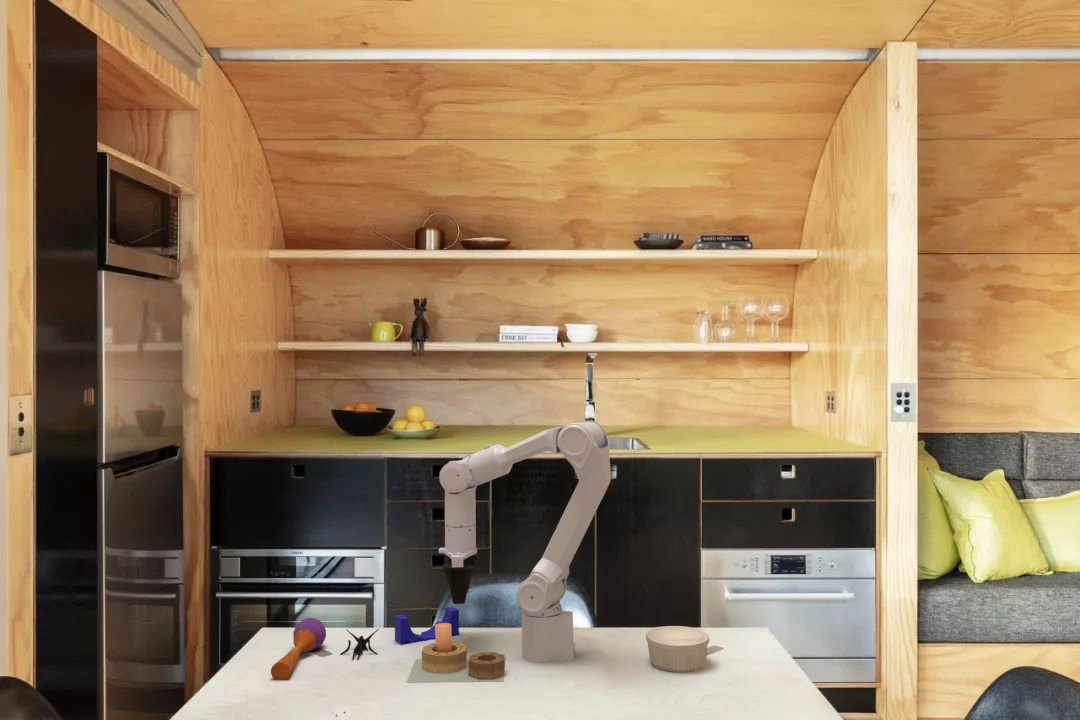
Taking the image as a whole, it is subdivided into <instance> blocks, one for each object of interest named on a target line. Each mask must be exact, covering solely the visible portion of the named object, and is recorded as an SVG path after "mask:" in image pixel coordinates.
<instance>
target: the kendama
mask: <svg viewBox="0 0 1080 720" xmlns="http://www.w3.org/2000/svg"><path fill="white" fill-rule="evenodd" d="M292 635H293V645H294V648H293V649H291V650H290V651H288V652H287V653H286V654H285V655H283V657H281V658H280V659H279V660H278V661H276V662H275V663H274V664H273V665H272V666H271V669H270V676H271V677H272V679H274V680H275V681H286V680H288V678H290V676H291V673H292V671H293V669H294V667H295V665H296V662H297V660H298V659H299V656H300V654H301V652H302V653H307V652H310V650H311V651H314V649H315V650H318V649H319V648H320V647H321V646H322V645H323V644H324V642H325V640H326V638H327V630H326V628H325V625H324V622H322V621H321V620H320V619H318V618H315V617H306V618H304V619H302V620H301V621H299V623H297V624H296V626H295V628H294V629H293V634H292ZM317 648H318V649H317Z"/></svg>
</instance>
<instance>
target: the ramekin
mask: <svg viewBox="0 0 1080 720" xmlns="http://www.w3.org/2000/svg"><path fill="white" fill-rule="evenodd" d="M645 634H646V635H645V640H646V643H647V648H648V655H649V660H650V663H652V665H653V666H654V667H655V668H657V669H659V670H661V671H665V670H666V672H670V671H671V672H672V673H691V672H695V671H699V670H700V669H702V668H703V667H704V665H705V663H706V657H707V653H708V645H709V643H710V636H709V635H708V633H707V632H705V631H703V630H701V629H698V628H695V627H691V626H684V625H683V626H681V625H665V626H657V627H653V628H651V629H649V630H648V631H647V632H646V633H645ZM671 672H670V673H671Z"/></svg>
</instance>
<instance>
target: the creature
mask: <svg viewBox="0 0 1080 720" xmlns="http://www.w3.org/2000/svg"><path fill="white" fill-rule="evenodd" d="M379 630H380V628H378V629H376V630H375V631H374V632H373V633H371V634H370V635H369V636H368V637H366V638H364V636H363V635H360V636H358V635H357V636H355V635H354V634H353V633H352V632H351V631H350V630H348V629H345V631H346V632H348V633H349V634H350V635H351V636H352V637H353V638H354V640H355V641H356V642H357V644H356V645H355V647H354V648H353V651H352V661H354V659H355V657H356V655H357V657H356V661H358V660H359V658H361V655H362V654H363V653H364V651H367V652H369V651H370V652H371V653H372V654H375V655H377V656H378V655H379V653H377V651H375V650H373V648H372V647H371V638H372V637H373V635H375V634H376V632H378V631H379ZM347 643H348V646H347V648H346V649H345V650H344V651H341V653H339V656H342V655H343V654H347V653H348V652H349V651H350V649H351V644H352V642H351V640H349V639H348V641H347ZM367 645H368V646H367Z"/></svg>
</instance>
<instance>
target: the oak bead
mask: <svg viewBox="0 0 1080 720" xmlns="http://www.w3.org/2000/svg"><path fill="white" fill-rule="evenodd" d="M467 649H468V646H467V645H465V644H464V643H460V642H455V641H452V652H447V653H439V652H436V642H433V643H432V642H431V643H429V644H426V645H424V646H423V647H422V649H421V659H422V669H424V670H425V671H426V672H431V673H436V674H438V673H453V672H458V671H461V670H463V669H465V668H466V666H467V658H468V654H467V653H468V650H467Z"/></svg>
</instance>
